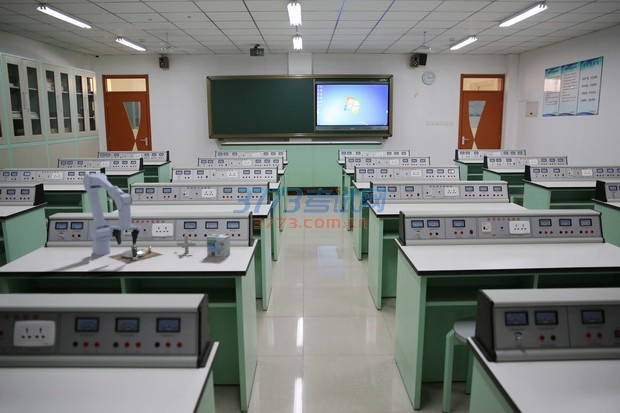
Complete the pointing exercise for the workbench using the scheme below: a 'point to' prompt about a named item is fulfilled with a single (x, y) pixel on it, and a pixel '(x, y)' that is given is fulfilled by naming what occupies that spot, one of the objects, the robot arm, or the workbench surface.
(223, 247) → the light bulb box
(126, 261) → the base board
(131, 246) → the post
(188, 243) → the pipe connector
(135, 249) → the crank
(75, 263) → the workbench surface
